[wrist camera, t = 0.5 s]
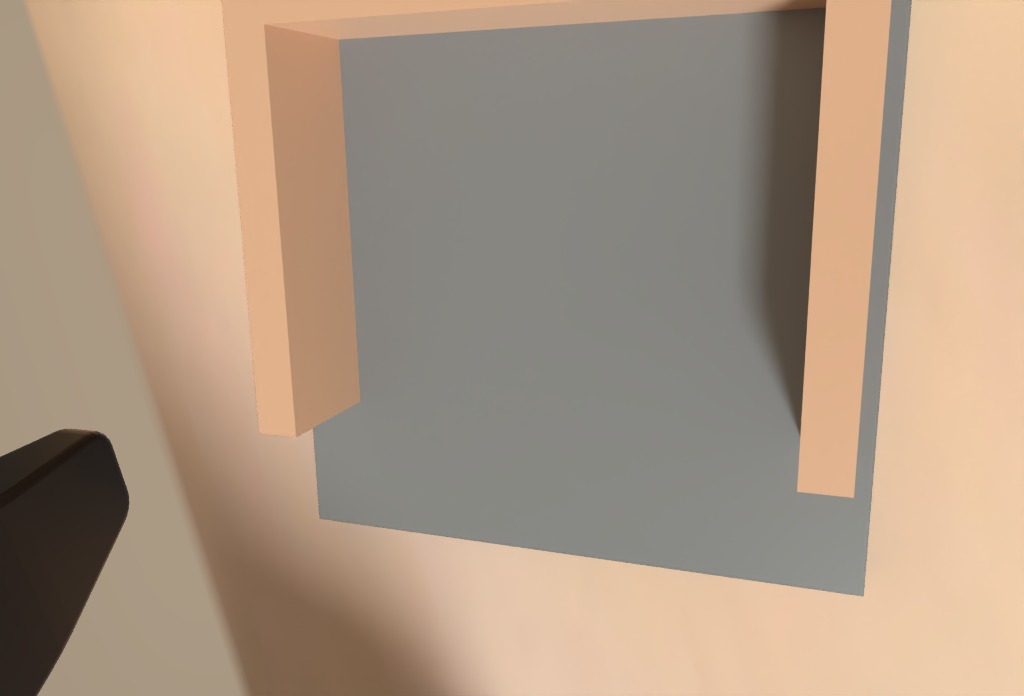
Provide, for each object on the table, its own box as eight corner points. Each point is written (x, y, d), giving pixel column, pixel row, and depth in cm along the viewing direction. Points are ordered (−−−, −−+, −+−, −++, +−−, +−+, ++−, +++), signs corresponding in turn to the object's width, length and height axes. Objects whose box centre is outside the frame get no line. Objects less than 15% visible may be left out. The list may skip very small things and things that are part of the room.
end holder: (861, 576, 20) (869, 671, 17) (338, 504, 25) (253, 567, 21) (923, -184, 17) (948, -274, 13) (297, -103, 21) (187, -153, 18)
